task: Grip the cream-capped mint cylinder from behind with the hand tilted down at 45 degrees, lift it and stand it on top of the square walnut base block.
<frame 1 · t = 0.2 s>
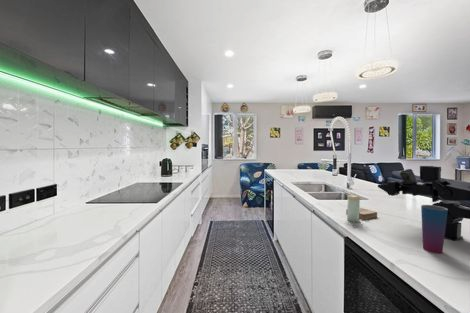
hand: (383, 185, 110), 17 cm above the worktop, tool horizontal, fingers open, 9 cm apart
base: (361, 215, 115), on the worktop
cup: (432, 250, 76), on the worktop
cream-capped mint cylinder: (353, 220, 107), on the worktop
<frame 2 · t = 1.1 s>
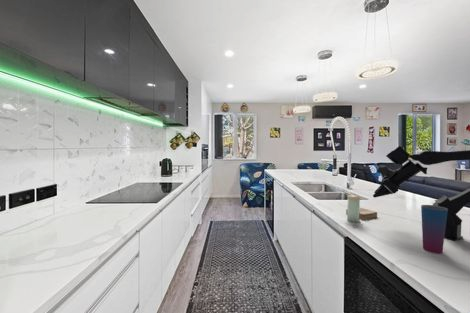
hand: (374, 194, 102), 14 cm above the worktop, tool tilted 45°, fingers open, 9 cm apart
nothing on the worktop moved.
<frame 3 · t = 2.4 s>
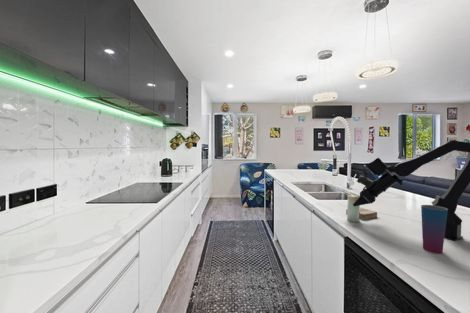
hand: (354, 203, 107), 8 cm above the worktop, tool tilted 45°, fingers open, 9 cm apart
nothing on the worktop moved.
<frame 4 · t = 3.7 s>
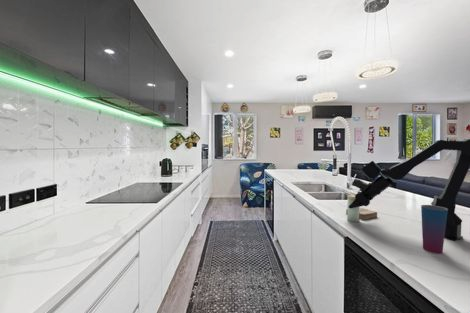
hand: (350, 206, 108), 7 cm above the worktop, tool tilted 45°, fingers closed on cream-capped mint cylinder, 5 cm apart
cream-capped mint cylinder: (353, 220, 107), on the worktop, touching gripper
everything else where it was.
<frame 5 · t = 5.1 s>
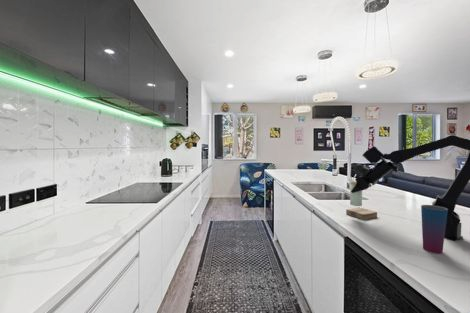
hand: (353, 191, 111), 13 cm above the worktop, tool tilted 45°, fingers closed on cream-capped mint cylinder, 5 cm apart
cream-capped mint cylinder: (356, 204, 110), point 7 cm above the worktop, touching gripper
everything else where it was.
when the fingers open (10 cm above the worktop, at t = 6.7 s): cream-capped mint cylinder stays where it is, resting on base.
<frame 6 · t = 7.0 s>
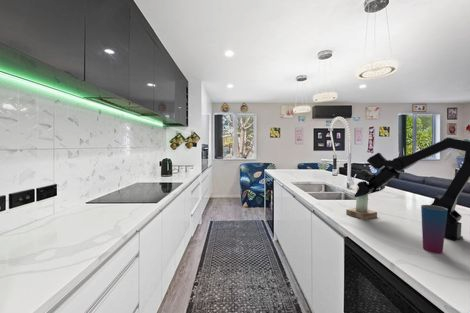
hand: (359, 195, 115), 10 cm above the worktop, tool tilted 45°, fingers open, 8 cm apart
cream-capped mint cylinder: (361, 210, 115), point 3 cm above the worktop, touching base
everything else where it was.
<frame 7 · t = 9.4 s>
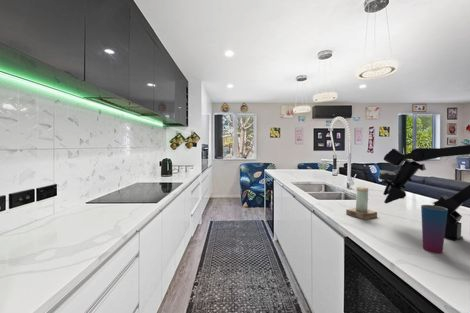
hand: (384, 198, 106), 11 cm above the worktop, tool tilted 30°, fingers open, 9 cm apart
nothing on the worktop moved.
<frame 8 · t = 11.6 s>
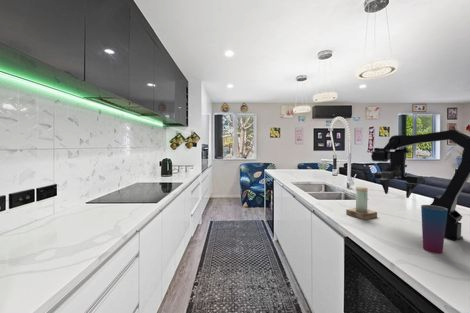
hand: (396, 195, 102), 13 cm above the worktop, tool pointing down, fingers open, 9 cm apart
nothing on the worktop moved.
at the end: cream-capped mint cylinder inside the target area on the base (0.1 cm from its centre), point 2.5 cm above the base's base; cream-capped mint cylinder tilted 1°; the gripper is holding nothing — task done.
